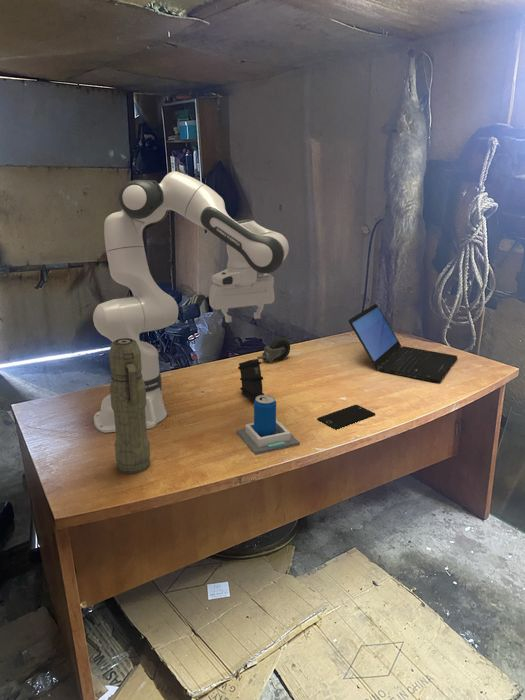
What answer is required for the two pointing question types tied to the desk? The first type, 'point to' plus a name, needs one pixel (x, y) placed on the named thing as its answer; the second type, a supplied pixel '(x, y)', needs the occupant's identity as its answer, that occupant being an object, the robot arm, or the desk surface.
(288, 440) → the charging dock
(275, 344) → the caster wheel
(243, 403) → the desk surface
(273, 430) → the beverage can
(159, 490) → the desk surface
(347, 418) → the cell phone
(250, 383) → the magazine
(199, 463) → the desk surface
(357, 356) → the desk surface
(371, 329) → the laptop
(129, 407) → the thermos
